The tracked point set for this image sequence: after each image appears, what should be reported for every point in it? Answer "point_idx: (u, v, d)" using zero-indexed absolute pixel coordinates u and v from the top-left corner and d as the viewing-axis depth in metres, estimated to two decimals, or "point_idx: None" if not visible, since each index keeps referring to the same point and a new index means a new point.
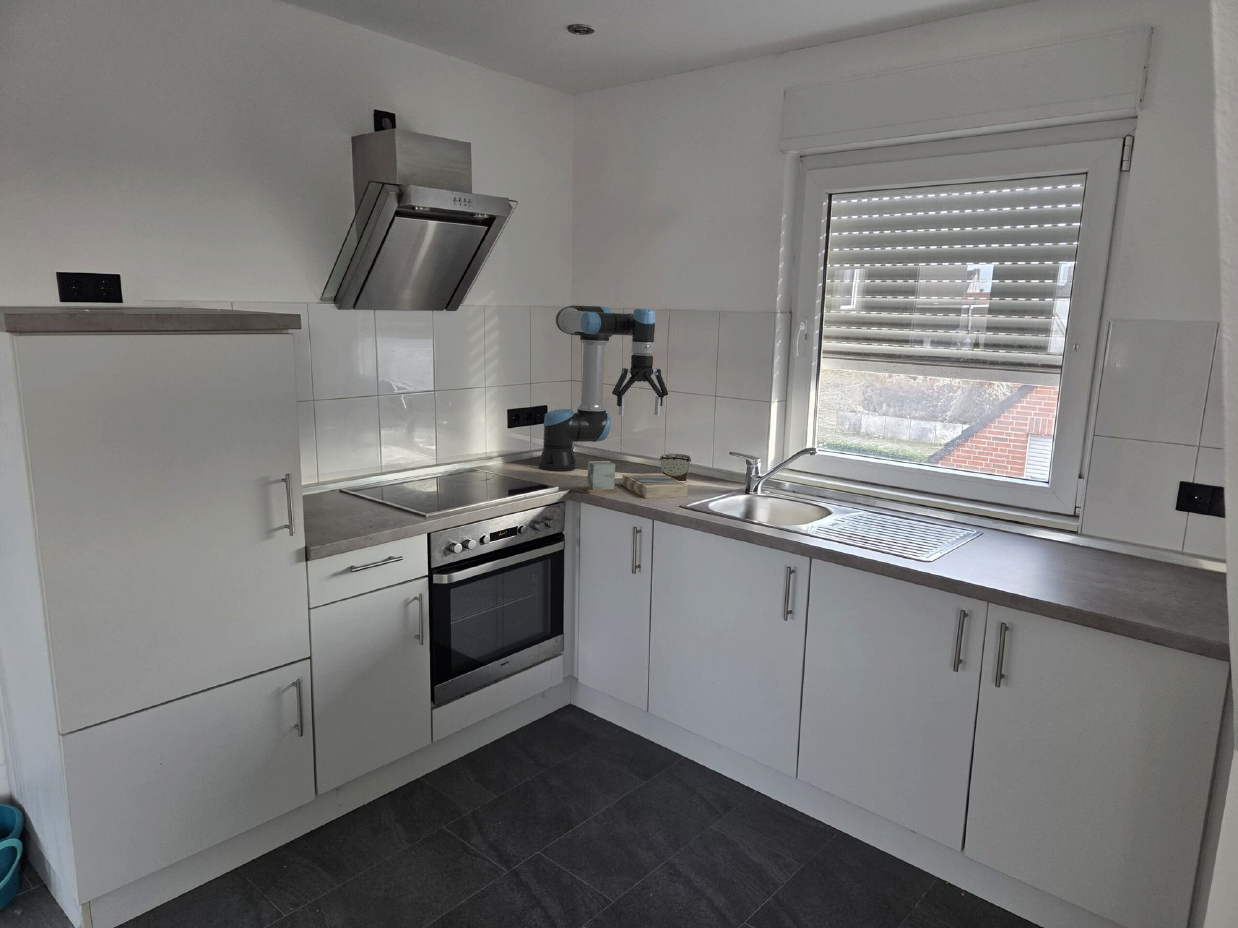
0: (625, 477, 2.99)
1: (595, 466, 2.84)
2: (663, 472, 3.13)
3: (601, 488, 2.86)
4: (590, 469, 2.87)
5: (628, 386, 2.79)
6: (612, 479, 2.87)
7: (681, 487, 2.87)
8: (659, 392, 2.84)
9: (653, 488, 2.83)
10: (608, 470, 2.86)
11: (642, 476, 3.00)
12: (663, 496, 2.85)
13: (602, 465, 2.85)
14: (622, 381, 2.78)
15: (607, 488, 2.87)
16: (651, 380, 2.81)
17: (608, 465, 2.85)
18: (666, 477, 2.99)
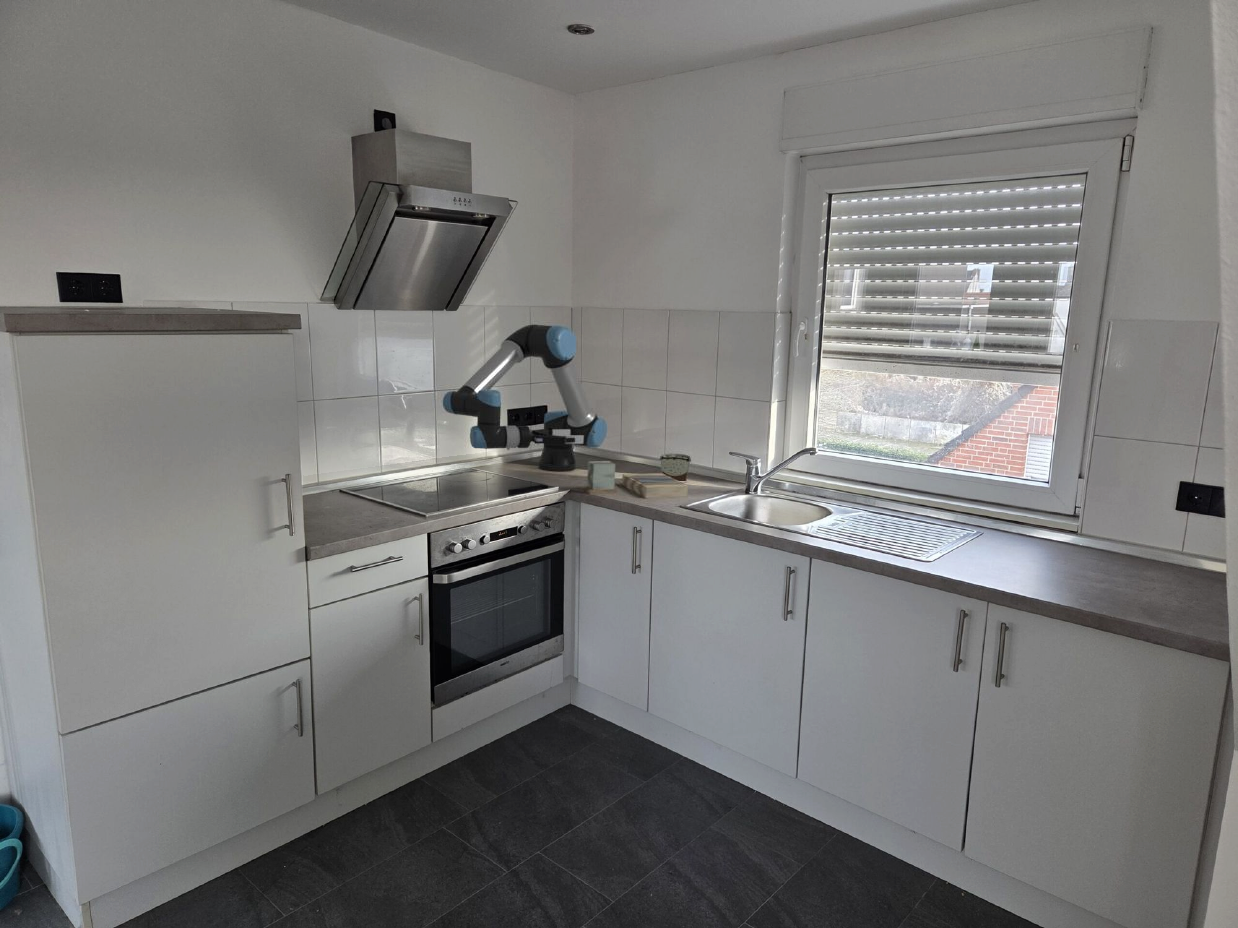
0: (625, 477, 2.99)
1: (595, 466, 2.84)
2: (663, 472, 3.13)
3: (601, 488, 2.86)
4: (589, 469, 2.87)
5: None
6: (612, 479, 2.87)
7: (681, 487, 2.87)
8: None
9: (653, 488, 2.83)
10: (608, 470, 2.86)
11: (642, 476, 3.00)
12: (663, 496, 2.85)
13: (602, 465, 2.85)
14: None
15: (607, 488, 2.87)
16: None
17: (608, 465, 2.85)
18: (666, 477, 2.99)
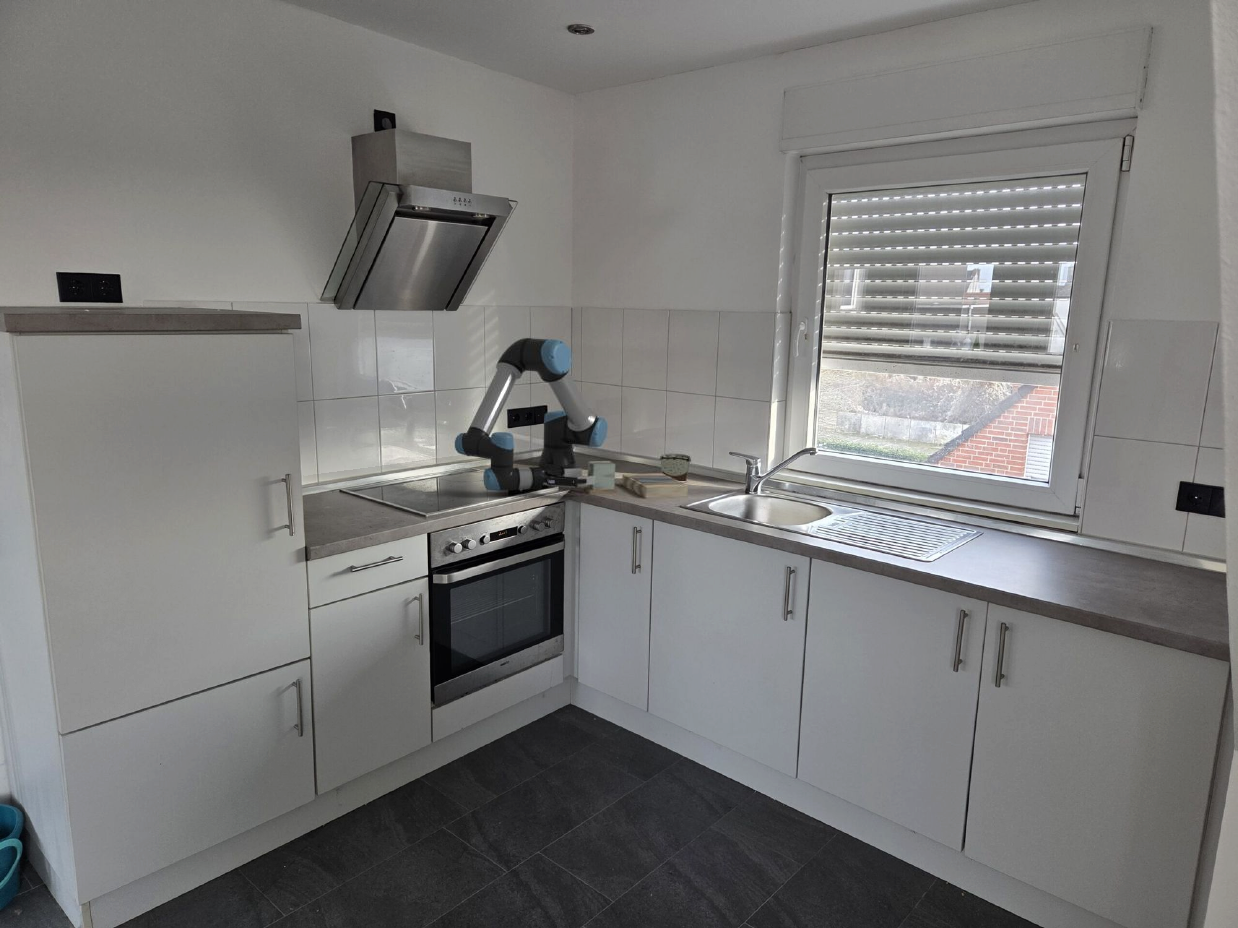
0: (625, 477, 2.99)
1: (595, 466, 2.84)
2: (663, 472, 3.13)
3: (601, 488, 2.86)
4: (589, 469, 2.87)
5: None
6: (612, 479, 2.87)
7: (681, 487, 2.87)
8: None
9: (653, 488, 2.83)
10: (608, 470, 2.86)
11: (642, 476, 3.00)
12: (663, 496, 2.85)
13: (602, 465, 2.85)
14: None
15: (607, 488, 2.87)
16: None
17: (608, 465, 2.85)
18: (666, 477, 2.99)
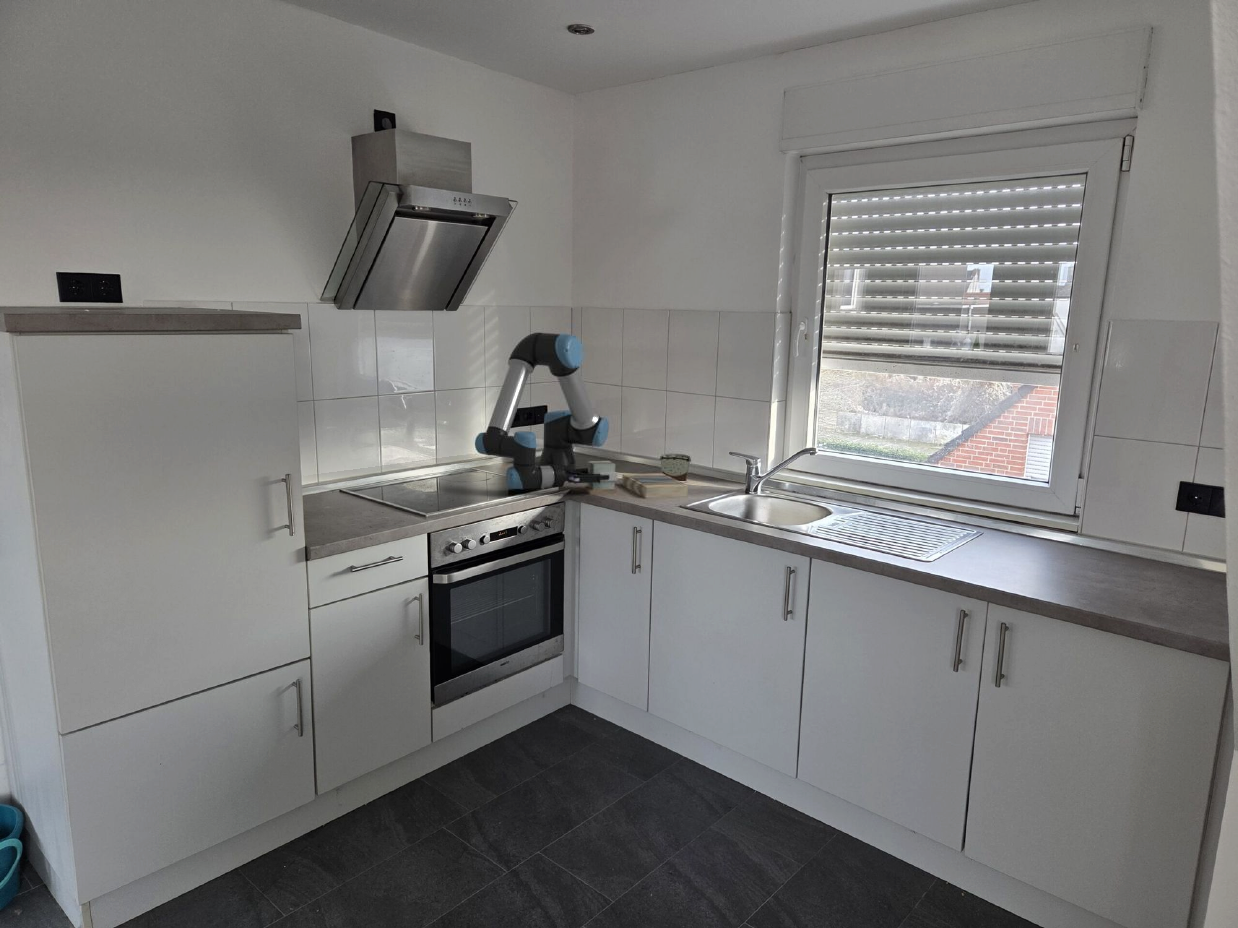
0: (625, 477, 2.99)
1: (595, 466, 2.84)
2: (663, 472, 3.13)
3: (601, 488, 2.86)
4: (590, 469, 2.87)
5: None
6: None
7: (681, 487, 2.87)
8: None
9: (653, 488, 2.83)
10: (608, 470, 2.86)
11: (642, 476, 3.00)
12: (663, 496, 2.85)
13: (602, 465, 2.85)
14: None
15: (607, 488, 2.87)
16: None
17: (608, 465, 2.85)
18: (666, 477, 2.99)
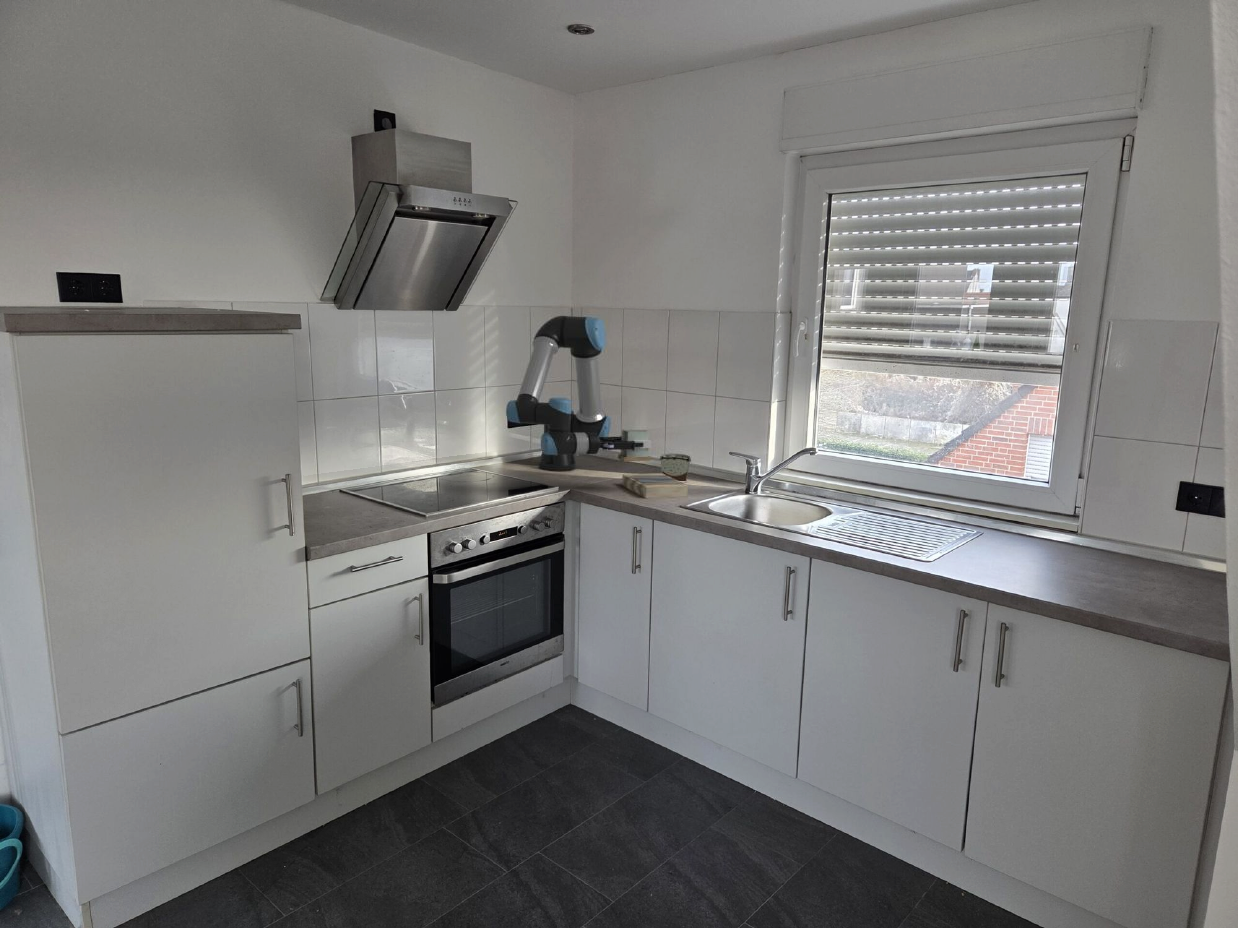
0: (625, 477, 2.99)
1: (629, 433, 2.83)
2: (663, 472, 3.13)
3: (635, 455, 2.86)
4: (623, 437, 2.87)
5: None
6: None
7: (681, 487, 2.87)
8: None
9: (653, 488, 2.83)
10: (642, 437, 2.85)
11: (642, 476, 3.00)
12: (663, 496, 2.85)
13: (636, 432, 2.84)
14: None
15: (641, 456, 2.87)
16: None
17: (642, 432, 2.85)
18: (666, 477, 2.99)
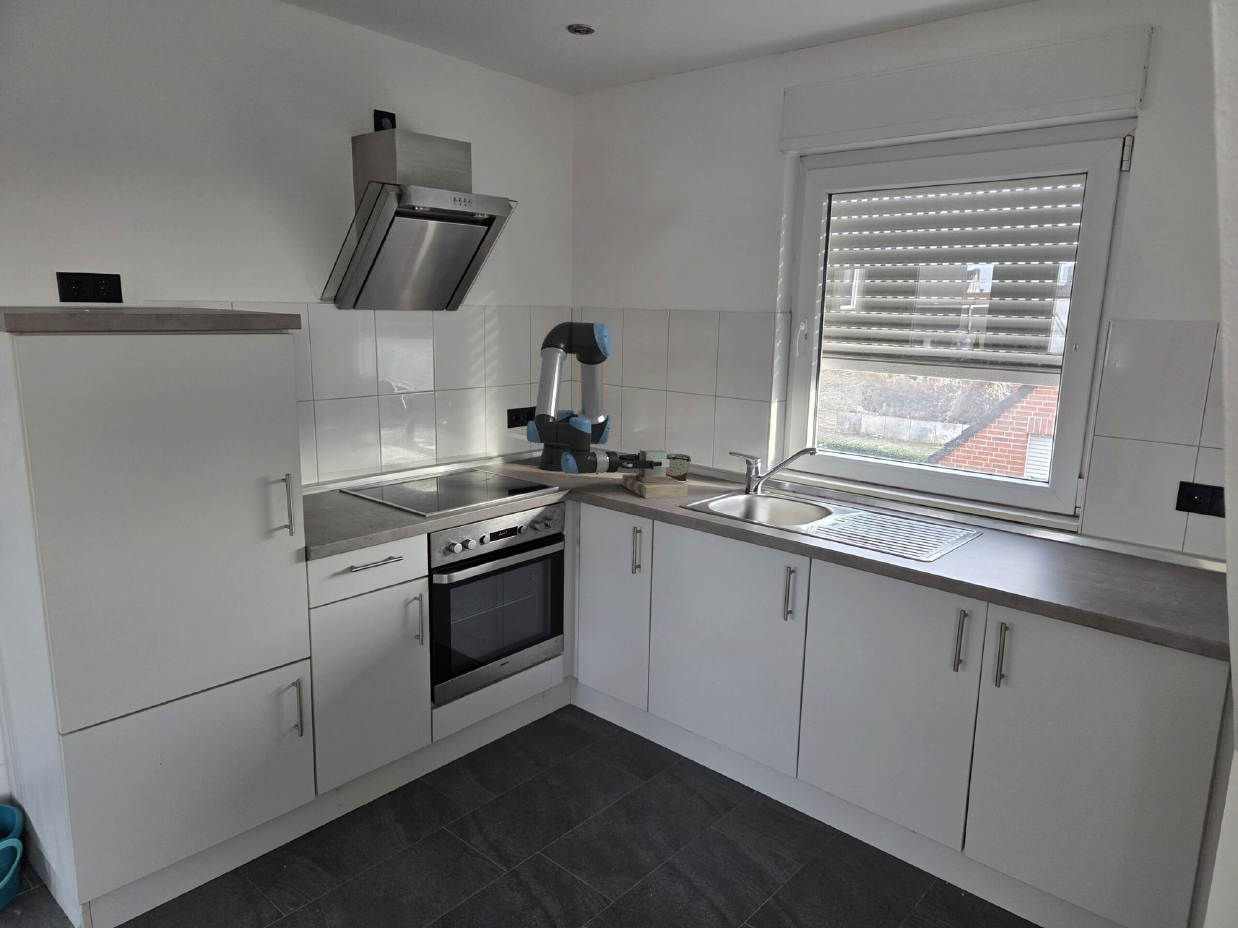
0: (625, 477, 2.99)
1: (647, 454, 2.88)
2: None
3: (653, 475, 2.91)
4: (641, 457, 2.92)
5: None
6: (664, 467, 2.92)
7: (681, 487, 2.87)
8: None
9: (653, 488, 2.83)
10: (660, 458, 2.90)
11: None
12: (663, 496, 2.85)
13: (654, 453, 2.89)
14: None
15: (659, 476, 2.92)
16: None
17: (660, 453, 2.90)
18: None
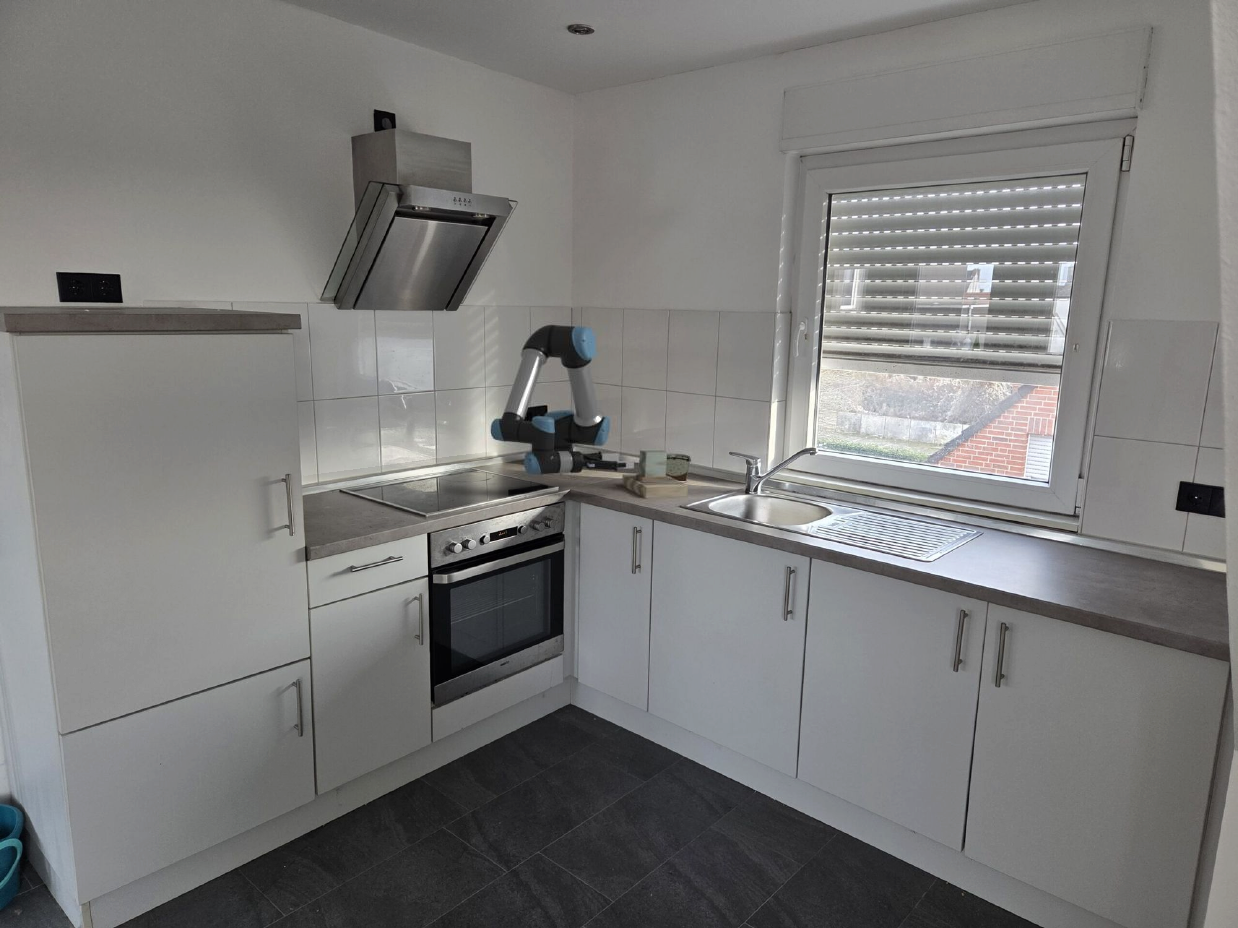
0: (625, 477, 2.99)
1: (647, 454, 2.88)
2: None
3: (653, 475, 2.91)
4: (641, 457, 2.92)
5: None
6: (664, 467, 2.92)
7: (681, 487, 2.87)
8: None
9: (653, 488, 2.83)
10: (660, 458, 2.90)
11: None
12: (663, 496, 2.85)
13: (654, 453, 2.89)
14: None
15: (659, 476, 2.92)
16: None
17: (660, 453, 2.90)
18: None
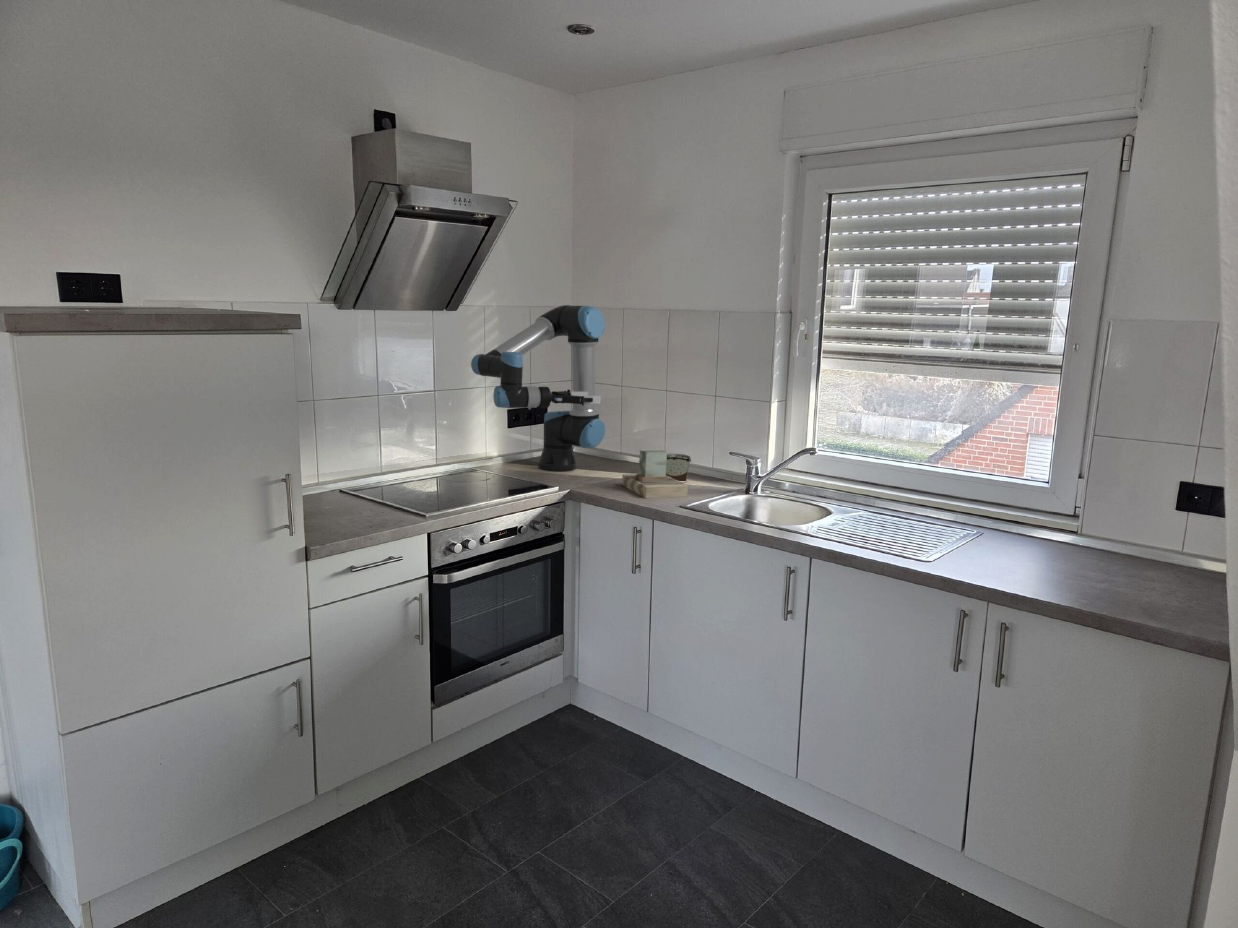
0: (625, 477, 2.99)
1: (647, 454, 2.88)
2: None
3: (653, 475, 2.91)
4: (641, 457, 2.92)
5: None
6: (664, 467, 2.92)
7: (681, 487, 2.87)
8: None
9: (653, 488, 2.83)
10: (660, 458, 2.90)
11: None
12: (663, 496, 2.85)
13: (654, 453, 2.89)
14: None
15: (659, 476, 2.92)
16: None
17: (660, 453, 2.90)
18: None
